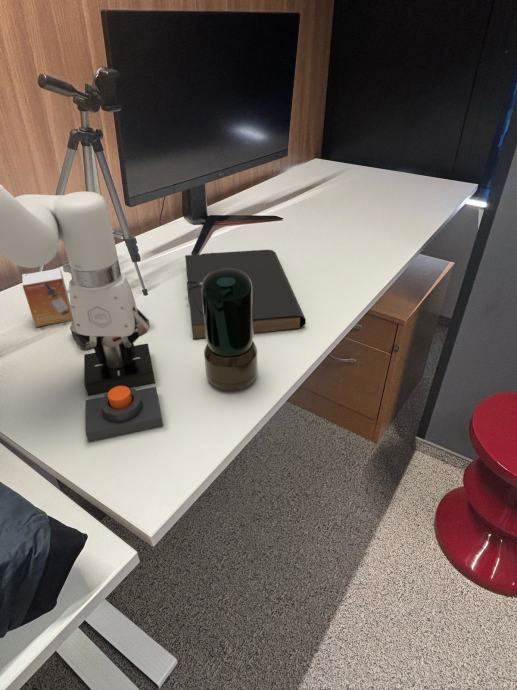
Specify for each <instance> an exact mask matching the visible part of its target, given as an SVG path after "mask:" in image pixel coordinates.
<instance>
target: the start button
mask: <svg viewBox="0 0 517 690" xmlns="http://www.w3.org/2000/svg"><path fill="white" fill-rule="evenodd" d="M108 399H109V403H110V406H111V407H112V408H113V409H123V408H126V407H128V406H129V405H130V404H131V403H132V397H131V392H130V389H129V388H128V387H126V386H117V387H114V388H112V389H111V390H110V391H109V392H108Z"/></svg>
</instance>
